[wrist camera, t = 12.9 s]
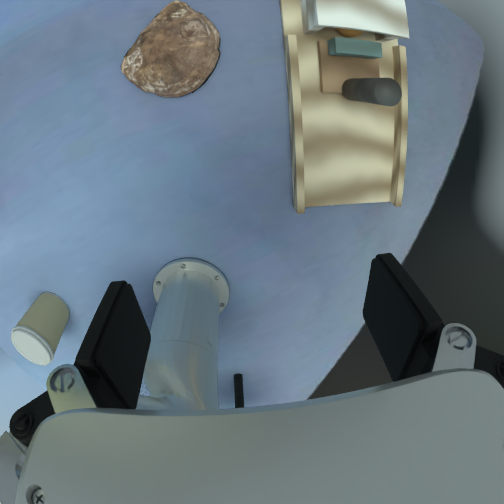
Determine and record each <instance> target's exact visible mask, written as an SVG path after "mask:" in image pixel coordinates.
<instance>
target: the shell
mask: <svg viewBox="0 0 504 504" xmlns="http://www.w3.org/2000/svg"><path fill="white" fill-rule="evenodd" d="M219 37H220V36H219V32H218V31H217V29H216V28H215V26H214V25H213V24H212V22H211V21H209V20H208V19H207V18H206V16H204V15H203V14H202V13H199V12H196V11H194V10H193V9H192V8H191V7H190V6H188V5H187V4H186V3H184V2H181V1H174V2H171V3H169V4H168V5H167V6H166V7H165V8H164V9H163V10H162V11H161V12H160V13H159V14H157V16H156V17H155V18H154V19H153V20H152V22H151V23H150V24H149V25H148V26H147V27H146V28H145V29H144V30H143V31H142V32H141V33H140V35H139V37H138V38H137V40H136V42H135V43H134V45H133V46H132V47H131V48H130V49H129V50H128V52H127V53H126V55H125V56H124V59H123V62H122V64H121V70H122V73H123V74H124V75H125V76H126V78H127V79H128V80H129V81H131V82H132V83H133V84H135V85H136V86H137V87H138V88H140V89H141V90H143V91H144V92H150V93H154V94H156V95H158V96H160V97H162V96H164V97H181V96H183V95H186V94H188V93H190V92H192V93H193V92H194V91H195V90H197V89H198V88H199V87H201V86H202V85H203V84H204V83H205V82H206V81H207V79H208V78H209V76H210V75H211V74H212V72H213V71H214V69H215V67H216V65H217V62H218V60H219V55H220V52H219V46H220V38H219Z"/></svg>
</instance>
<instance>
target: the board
mask: <svg viewBox="0 0 504 504" xmlns="http://www.w3.org/2000/svg"><path fill="white" fill-rule="evenodd" d="M280 9H281V19H282V29H283V39H284V50H285V62H286V74H287V87H288V102H289V118H290V136H291V157H292V183H293V206H294V208H295V210H296V212H297V214H300V213H305V207H313V206H326V205H340V204H355V203H372V202H391V203H392V204H393V205H394V206H395V207H397V206H401V203H402V195H403V186H404V175H405V163H406V148H407V124H408V85H407V62H406V48H405V47H404V46H400V45H399V46H398V41H397V39H399V38H405V39H407V38H409V30H408V21H407V14H406V7H405V0H280ZM336 28H343V29H352V30H360V31H364V32H363V33H362V34H360V35H359V36H355V37H349V36H345V35H343V34H341V33H340V32H339V31H338V30H337V29H336ZM334 37H339V38H350V39H358V40H366V41H373V42H380V43H381V44H382V56H383V58H379V74H380V78H392V79H394V80H395V81H397V82H398V84H399V85H400V87H401V90H402V97H401V100H400V102H399V103H398V104H397V105H395V106H392V107H390V106H384V105H378V104H372V103H365V102H358V101H351V100H348V99H346V98H345V97H344V96H343V94H342V93H331V92H321V87H320V71H319V57H318V45H317V41H319V40H322V41H328V40H330V39H332V38H334Z"/></svg>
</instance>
